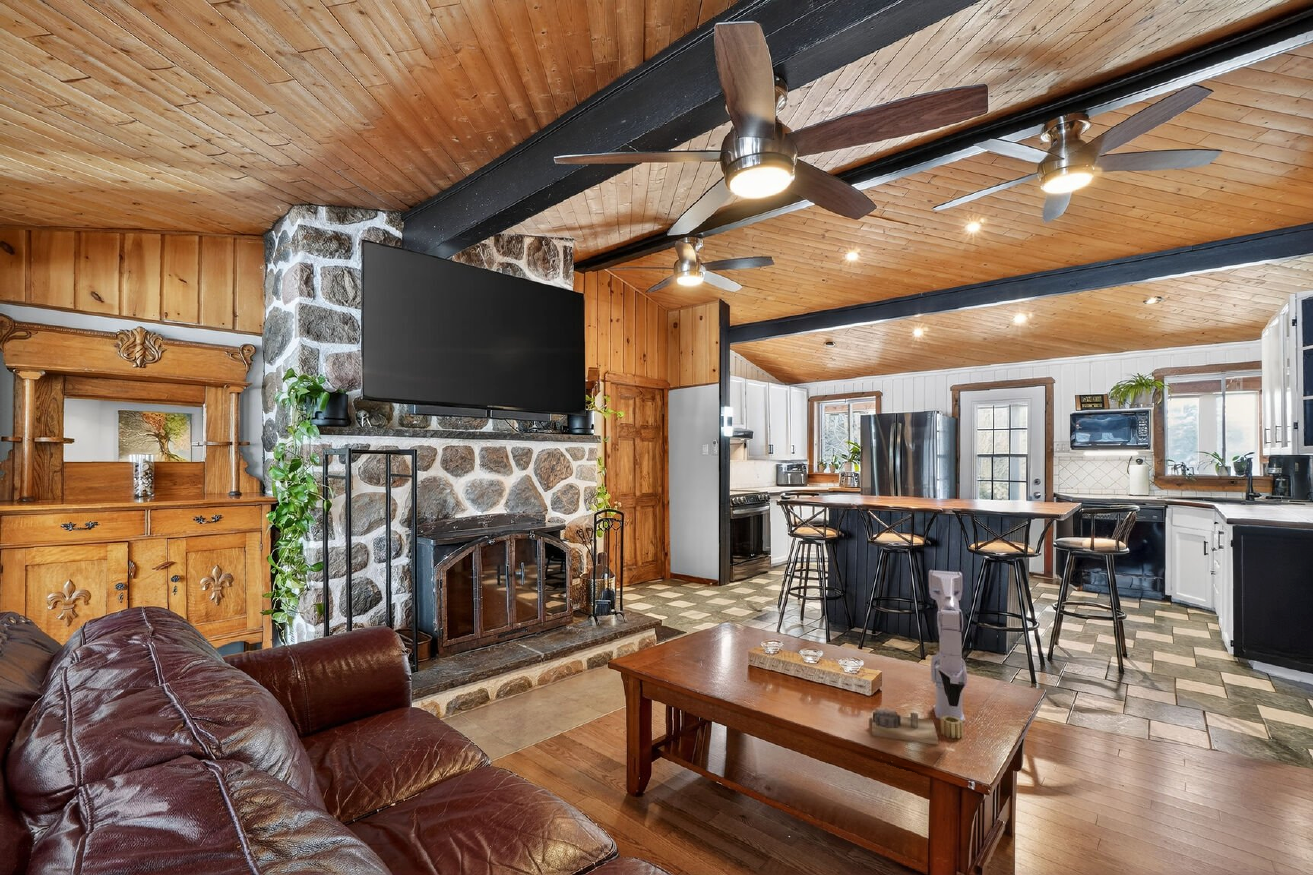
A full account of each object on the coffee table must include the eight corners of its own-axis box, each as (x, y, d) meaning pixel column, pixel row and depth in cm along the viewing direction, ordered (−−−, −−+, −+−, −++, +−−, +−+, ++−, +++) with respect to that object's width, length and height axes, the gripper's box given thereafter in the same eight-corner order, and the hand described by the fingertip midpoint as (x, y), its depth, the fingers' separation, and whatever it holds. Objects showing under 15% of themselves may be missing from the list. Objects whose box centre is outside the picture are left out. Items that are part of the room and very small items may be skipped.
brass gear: (939, 728, 177) (939, 714, 177) (961, 730, 175) (961, 716, 175) (942, 736, 171) (941, 722, 171) (964, 739, 169) (964, 725, 169)
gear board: (871, 717, 184) (871, 700, 184) (933, 725, 179) (932, 707, 179) (872, 735, 172) (872, 717, 172) (938, 744, 166) (937, 726, 166)
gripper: (932, 643, 182) (933, 689, 181) (938, 658, 168) (939, 708, 168) (958, 646, 180) (959, 692, 179) (966, 661, 166) (967, 712, 165)
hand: (951, 700), depth 173 cm, fingers open, 7 cm apart
